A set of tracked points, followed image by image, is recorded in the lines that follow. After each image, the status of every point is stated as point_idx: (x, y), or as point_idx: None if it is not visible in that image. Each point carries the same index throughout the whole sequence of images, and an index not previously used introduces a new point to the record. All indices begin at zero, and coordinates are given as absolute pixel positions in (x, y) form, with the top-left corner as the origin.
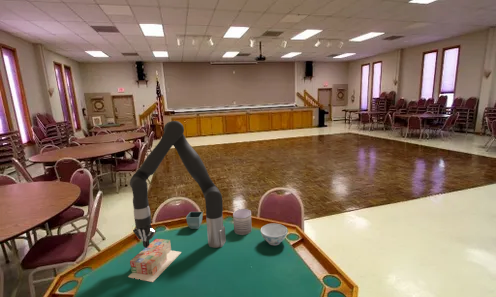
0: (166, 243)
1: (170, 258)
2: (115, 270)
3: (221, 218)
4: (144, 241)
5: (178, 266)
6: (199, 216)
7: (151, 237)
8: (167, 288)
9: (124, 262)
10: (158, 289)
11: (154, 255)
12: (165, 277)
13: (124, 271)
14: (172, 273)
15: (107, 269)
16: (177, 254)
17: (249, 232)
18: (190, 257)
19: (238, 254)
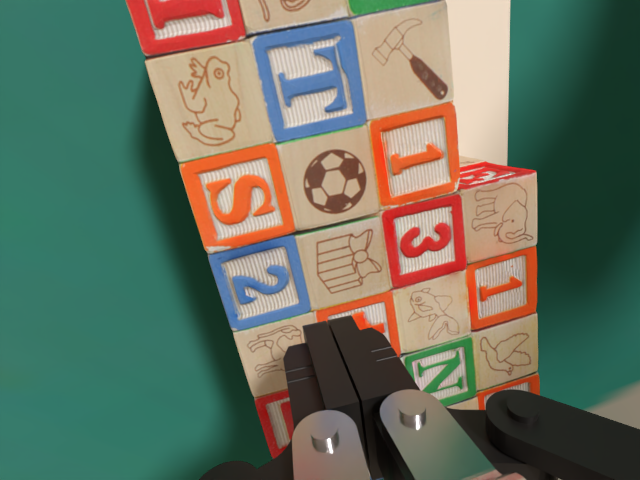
0: (446, 22)
1: (464, 117)
2: (106, 448)
3: None
4: (374, 475)
5: (582, 175)
6: None
7: (552, 430)
8: (614, 371)
9: (54, 354)
10: (568, 401)
11: (471, 322)
12: (552, 313)
13: (196, 418)
14: (577, 261)
15: (18, 476)
16: (494, 23)
17: None
18: (630, 10)
19: None
